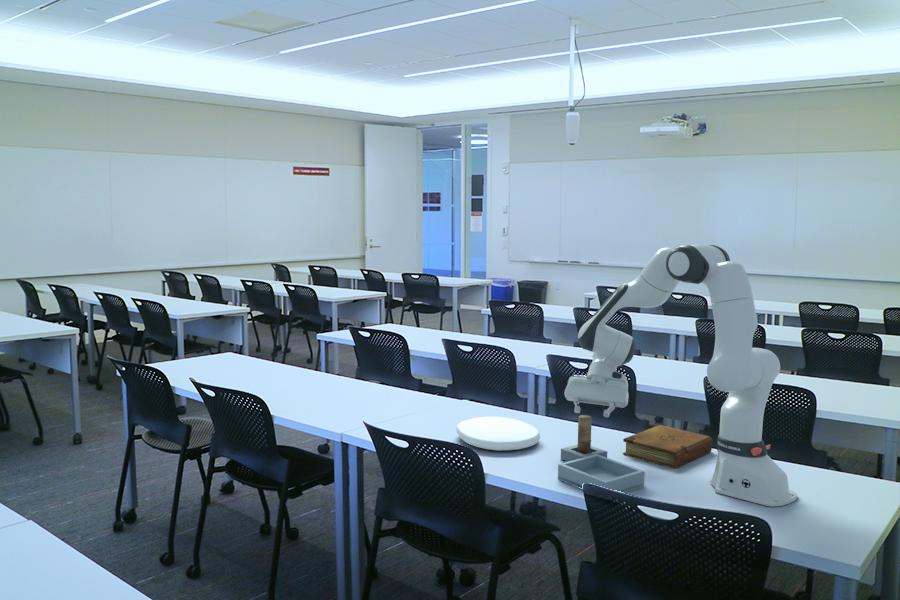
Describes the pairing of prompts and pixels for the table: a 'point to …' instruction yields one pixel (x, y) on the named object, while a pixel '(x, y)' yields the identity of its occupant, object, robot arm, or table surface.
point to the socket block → (572, 453)
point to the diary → (667, 446)
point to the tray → (601, 473)
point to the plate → (497, 433)
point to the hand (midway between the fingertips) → (591, 414)
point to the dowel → (584, 434)
